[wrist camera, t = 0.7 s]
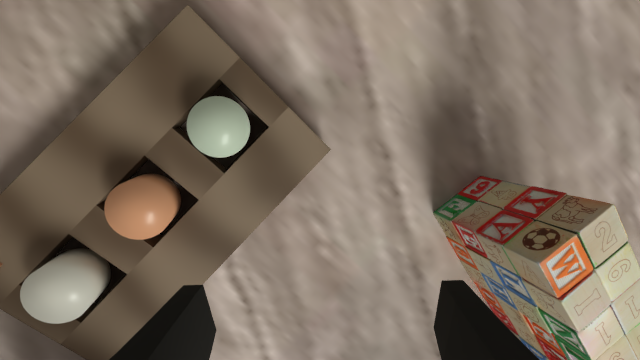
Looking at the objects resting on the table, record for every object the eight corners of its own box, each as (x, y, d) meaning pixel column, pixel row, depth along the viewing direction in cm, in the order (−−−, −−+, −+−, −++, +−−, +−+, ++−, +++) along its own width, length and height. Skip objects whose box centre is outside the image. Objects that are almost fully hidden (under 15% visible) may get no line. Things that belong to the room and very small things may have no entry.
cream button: (85, 309, 24) (62, 334, 21) (35, 278, 23) (4, 300, 20) (123, 270, 24) (105, 290, 21) (75, 237, 23) (50, 253, 20)
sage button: (224, 164, 24) (221, 169, 21) (182, 127, 23) (172, 127, 20) (261, 127, 24) (262, 127, 22) (220, 88, 23) (216, 82, 21)
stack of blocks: (558, 321, 37) (704, 414, 25) (517, 355, 36) (646, 467, 24) (479, 174, 31) (618, 202, 20) (430, 211, 31) (542, 264, 19)
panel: (127, 353, 27) (114, 378, 24) (-38, 252, 23) (-75, 268, 20) (323, 147, 27) (331, 149, 25) (193, 17, 24) (187, 3, 21)
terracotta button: (155, 236, 24) (143, 251, 21) (109, 202, 23) (89, 212, 20) (192, 198, 24) (185, 207, 21) (148, 162, 23) (134, 167, 20)
